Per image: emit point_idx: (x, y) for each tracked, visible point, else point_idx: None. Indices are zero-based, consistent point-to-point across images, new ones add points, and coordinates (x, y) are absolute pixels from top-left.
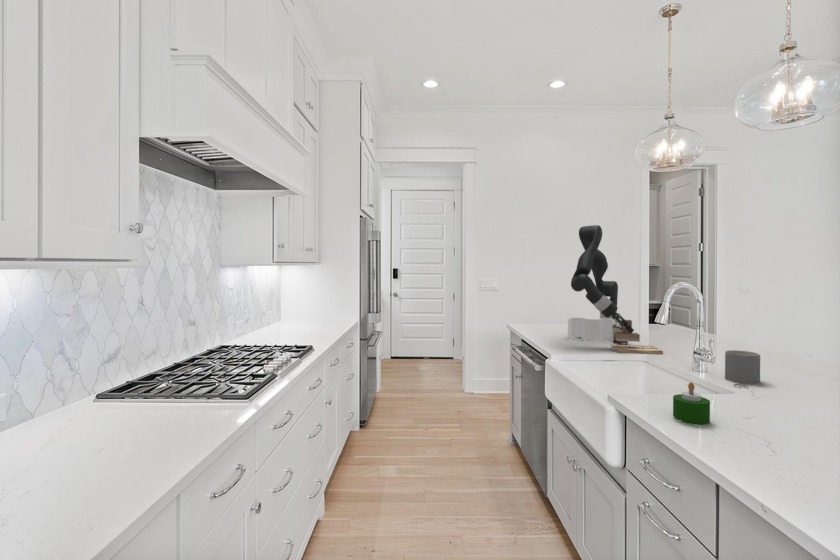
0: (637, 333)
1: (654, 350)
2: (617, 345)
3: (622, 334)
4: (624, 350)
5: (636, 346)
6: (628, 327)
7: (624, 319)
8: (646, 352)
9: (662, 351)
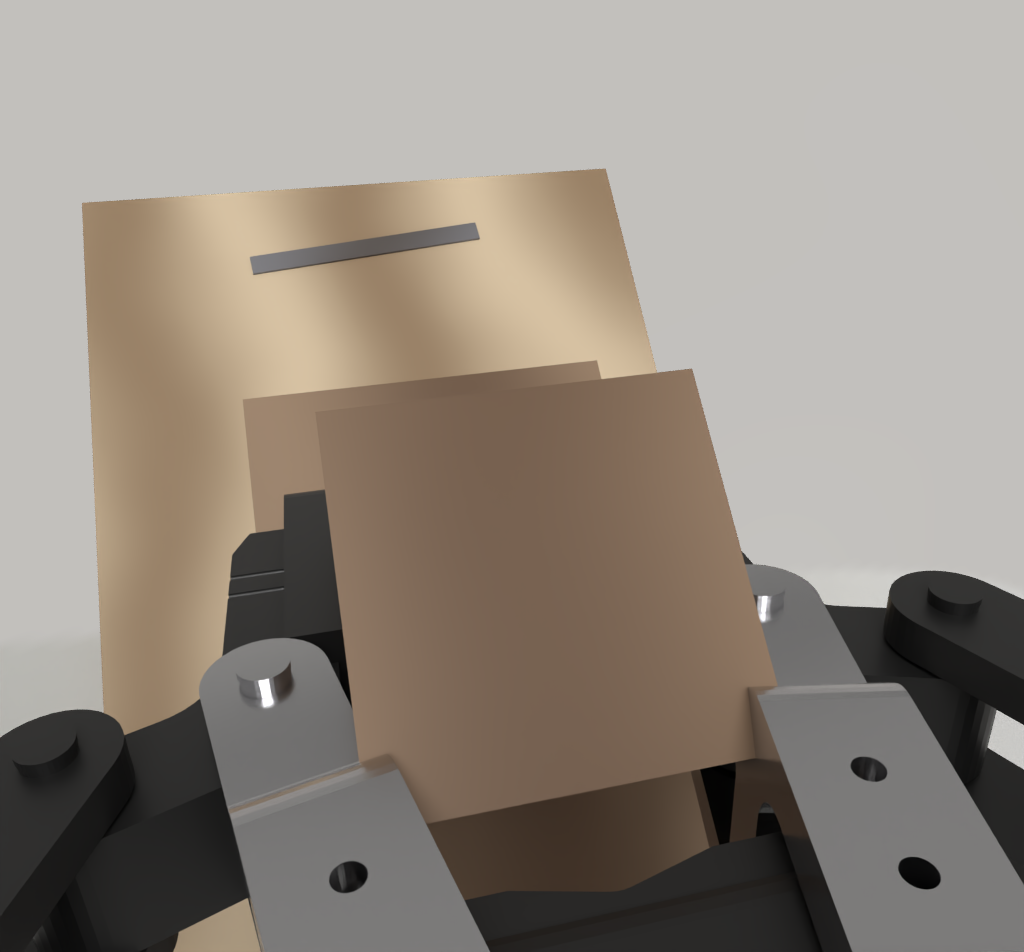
0: (398, 388)
1: (598, 275)
2: (249, 925)
3: (697, 822)
4: None
5: None
6: None
7: (911, 725)
8: None
9: (606, 179)
